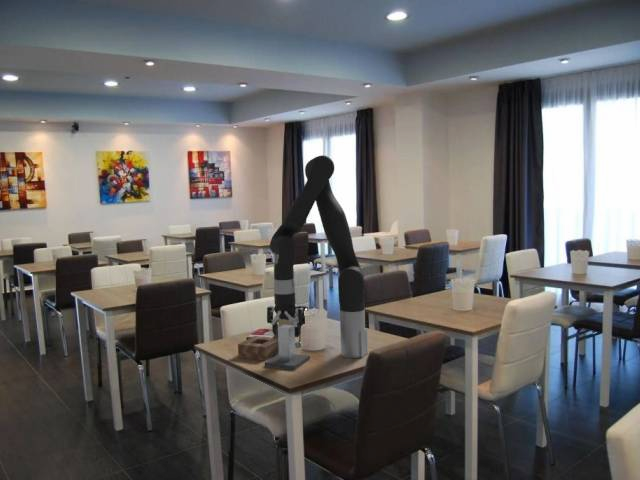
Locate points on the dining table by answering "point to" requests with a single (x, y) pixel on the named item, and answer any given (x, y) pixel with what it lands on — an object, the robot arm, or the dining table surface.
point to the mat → (287, 362)
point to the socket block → (258, 348)
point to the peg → (286, 342)
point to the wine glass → (298, 344)
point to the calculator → (263, 333)
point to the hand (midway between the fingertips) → (286, 335)
